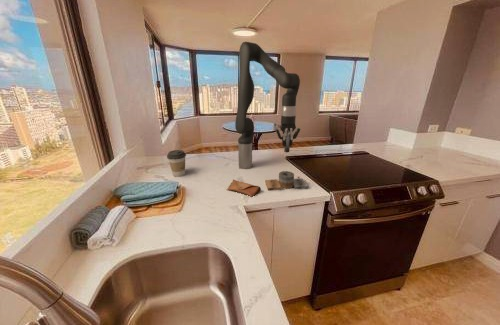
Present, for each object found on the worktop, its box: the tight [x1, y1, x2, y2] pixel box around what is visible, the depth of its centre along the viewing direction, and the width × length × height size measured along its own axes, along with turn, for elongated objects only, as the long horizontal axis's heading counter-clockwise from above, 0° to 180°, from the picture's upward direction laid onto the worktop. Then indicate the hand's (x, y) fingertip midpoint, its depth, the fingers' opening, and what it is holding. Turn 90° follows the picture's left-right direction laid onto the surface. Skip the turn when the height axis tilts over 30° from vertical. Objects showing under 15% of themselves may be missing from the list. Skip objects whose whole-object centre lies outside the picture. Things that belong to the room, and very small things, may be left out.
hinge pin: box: [283, 131, 291, 153], centre depth 115 cm, size 3×3×12 cm
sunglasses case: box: [226, 179, 262, 198], centre depth 114 cm, size 18×7×7 cm, turn 61°
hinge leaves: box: [264, 170, 309, 191], centre depth 119 cm, size 22×10×7 cm, turn 95°
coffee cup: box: [166, 149, 187, 178], centre depth 132 cm, size 11×11×15 cm
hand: (287, 146), depth 116 cm, fingers closed on hinge pin, 2 cm apart
